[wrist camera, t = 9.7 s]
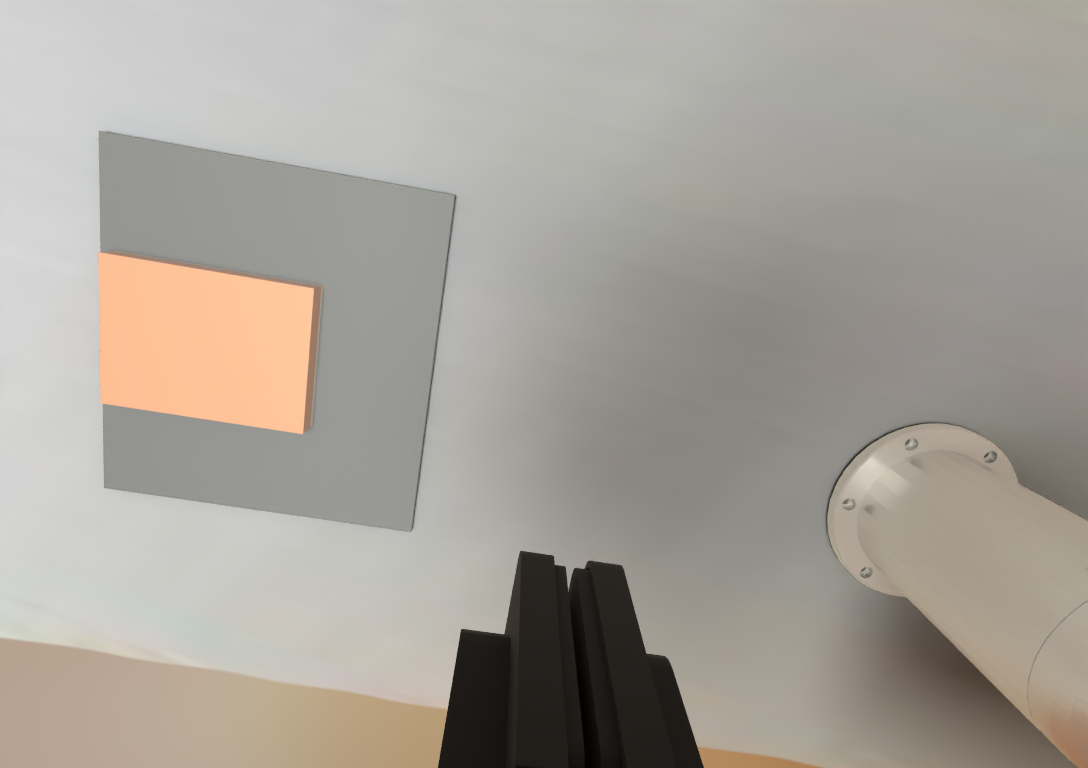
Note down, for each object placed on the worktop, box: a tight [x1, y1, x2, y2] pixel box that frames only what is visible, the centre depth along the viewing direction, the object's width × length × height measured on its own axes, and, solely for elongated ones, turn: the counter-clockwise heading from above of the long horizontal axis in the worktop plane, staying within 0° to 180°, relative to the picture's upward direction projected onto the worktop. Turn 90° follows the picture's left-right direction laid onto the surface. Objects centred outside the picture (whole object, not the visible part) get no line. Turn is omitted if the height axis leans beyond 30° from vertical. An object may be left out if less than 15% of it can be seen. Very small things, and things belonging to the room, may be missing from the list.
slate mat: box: [99, 131, 456, 532], centre depth 38 cm, size 20×22×1 cm
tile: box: [98, 251, 323, 434], centre depth 36 cm, size 2×9×12 cm
